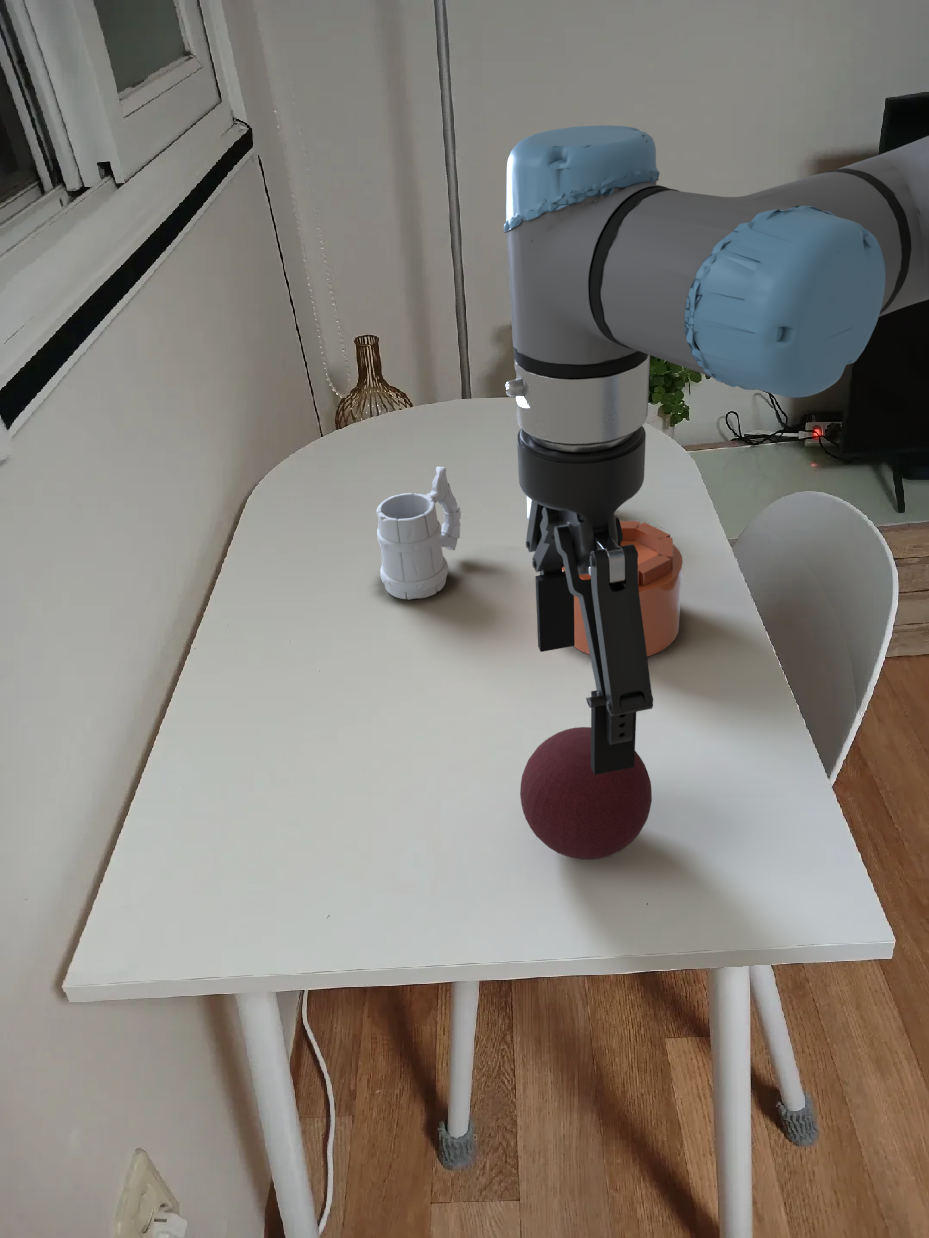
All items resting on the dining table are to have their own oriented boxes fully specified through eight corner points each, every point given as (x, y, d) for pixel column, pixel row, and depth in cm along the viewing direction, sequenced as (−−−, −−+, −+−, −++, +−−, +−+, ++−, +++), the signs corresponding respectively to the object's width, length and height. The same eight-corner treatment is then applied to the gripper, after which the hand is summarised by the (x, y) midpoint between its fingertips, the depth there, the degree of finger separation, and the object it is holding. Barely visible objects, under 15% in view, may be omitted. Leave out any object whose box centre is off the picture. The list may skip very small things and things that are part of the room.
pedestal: (680, 662, 93) (685, 580, 87) (557, 658, 95) (554, 578, 89) (677, 593, 102) (681, 516, 97) (565, 591, 104) (563, 515, 99)
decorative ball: (522, 792, 80) (516, 702, 75) (642, 790, 79) (646, 698, 74) (523, 888, 72) (516, 795, 66) (657, 886, 71) (661, 792, 66)
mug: (368, 588, 108) (352, 494, 101) (437, 543, 115) (427, 452, 108) (417, 609, 104) (404, 513, 97) (486, 561, 111) (478, 468, 104)
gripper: (474, 361, 65) (492, 613, 78) (581, 541, 45) (582, 843, 57) (580, 346, 66) (581, 597, 78) (731, 516, 46) (700, 818, 58)
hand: (582, 702), depth 68 cm, fingers open, 13 cm apart
